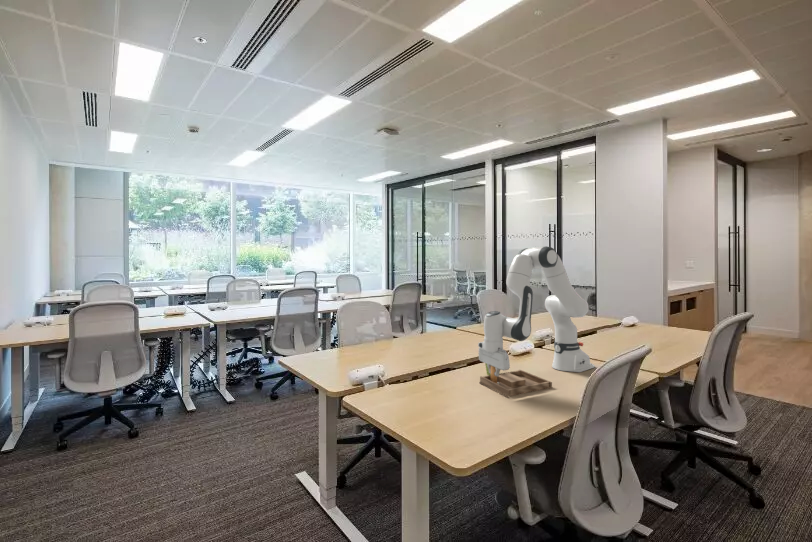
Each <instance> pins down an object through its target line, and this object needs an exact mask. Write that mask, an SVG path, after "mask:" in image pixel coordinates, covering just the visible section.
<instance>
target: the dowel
mask: <svg viewBox="0 0 812 542" xmlns="http://www.w3.org/2000/svg"><path fill="white" fill-rule="evenodd" d="M494 372H496V369H495V367H494V366H491V381H492V382H495V383H497V377H496V376H495V375H494Z"/></svg>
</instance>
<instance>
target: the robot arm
mask: <svg viewBox="0 0 812 542" xmlns="http://www.w3.org/2000/svg"><path fill="white" fill-rule="evenodd" d="M538 269H541V270H542V274H543V278H544V280H545V283H546V285H547V289H548V290H549V292H551V293H552V295H548V296H547V297H546V298H545V300H544V308H545V310H546V311H547V312H548V313H549V315H550V317H551V319H552V322H553V326H554V343H553V348H554V353H553V361H552V364H551V367H552V368H553V369H555V370H557V371H561V372H574V373H582V372H585V371H588V370H592V369H594V368H596V365H595V364H593V363H591V358H590V355H589V354H588V353H586V352H585V351H584V350H583V349H581V347H583V346H584V342H583V341H582V342H581V341H579V342H578V329H577V328H578V327H577V326H576V324H574V322H573V321H572V318H575V319H576V318H583V317H585V316H586V315H587V314H588V312H589V303H588V302H587V300H586V299H585V298H583V297H582V296H580V294H578V292H577V291H576V290H575V288H574V286H573V285H572V283H571V282H570V279H569V277H568V276H569V275H568V273H567V271H566V269H565V265H564V263H563V261H562V259H561V257H560V256H559V254H558V252H557V250H555V248H553V247H551V246H533V247H529V248H528V247H527V248H523V249H521V250H520V251H519V252H518V253H517V255H515V256H514V257H513V259H512V261H511V264H510V266H509V269H508V272H507V276H506V280H505V281H506V282H505V284H506V286H507V289H508V290H509V291H510V292H511V293H513V294H514V295H515V296H517V297H518V299H519V310H518V317H511V316H507V315H503V314H502V312H501V311H498V310H494V311H492V310H491V311H488V312H486V313H485V314H484V317H483V333H484V337H483V341H481V342H478V343H477V347H478V360H479V361H480V362H483V363H484V364H485V363H487V367H488V369H489V373H490V374H491V366H494V367H495V369H496V372H494V375H495V376H496V377H497V376H499V374H500V373H501V371H503V372H505V371H508V370H510V368H511V367H510V366H511V365H510V358H509V357H510V356H509V354H508V352H507V351H506V350H505V349H504V338H503V337H505V338H509V339H514V340H516V341H518V342H523V341H525V340H527V339H528V338H529V337H530V336H531V334H532V321H531V320H532V312H533V311H532V309H533V299H534V294H533V292H534V291H533V289H532V288H531V277H532V273H533V270H538ZM499 372H500V373H499Z"/></svg>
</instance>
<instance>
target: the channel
mask: <svg viewBox="0 0 812 542" xmlns="http://www.w3.org/2000/svg"><path fill="white" fill-rule="evenodd" d="M478 384H479V385H481V386H483V387H485V388H487V389H489V390H490V391H493V392H495V393H497V394H498V393H499V395H500V396H502V397H505V398H507V399H510V397H513V396H519V395H523V394H527V393H533V392H538V391H543V390H548V389H553V382H552V381H550V380H548V379H545V378H542V377H540V376H537V375H534V374H532V373H530V372H527V371H524V370H522V369H518V370H513V371H508V372H506V371H505V372H502V373H501V372H500V373H499V376H497V383H495V382H492V381H491V375H484V376H480V377H479V383H478Z"/></svg>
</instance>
